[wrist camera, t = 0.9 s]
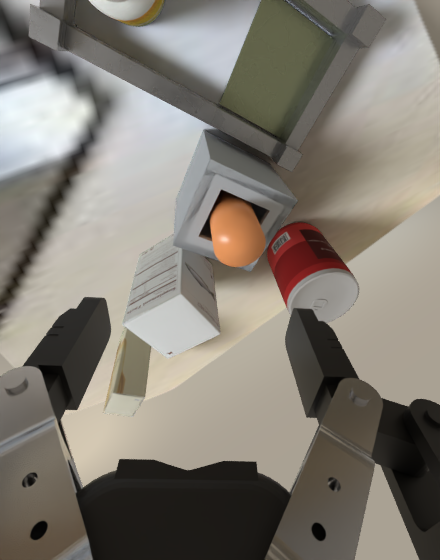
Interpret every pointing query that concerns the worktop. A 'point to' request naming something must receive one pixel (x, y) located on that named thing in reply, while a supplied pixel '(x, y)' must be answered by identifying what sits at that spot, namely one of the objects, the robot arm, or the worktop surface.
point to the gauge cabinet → (234, 179)
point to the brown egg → (235, 231)
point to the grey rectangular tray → (245, 68)
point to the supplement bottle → (130, 10)
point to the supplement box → (172, 299)
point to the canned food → (311, 272)
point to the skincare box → (128, 376)
